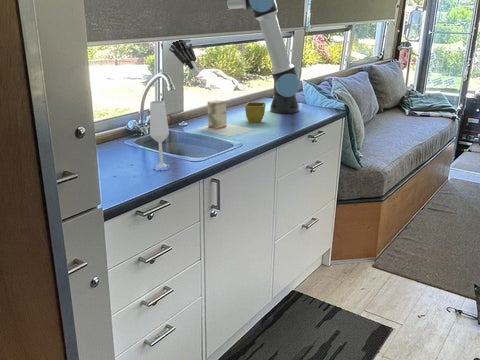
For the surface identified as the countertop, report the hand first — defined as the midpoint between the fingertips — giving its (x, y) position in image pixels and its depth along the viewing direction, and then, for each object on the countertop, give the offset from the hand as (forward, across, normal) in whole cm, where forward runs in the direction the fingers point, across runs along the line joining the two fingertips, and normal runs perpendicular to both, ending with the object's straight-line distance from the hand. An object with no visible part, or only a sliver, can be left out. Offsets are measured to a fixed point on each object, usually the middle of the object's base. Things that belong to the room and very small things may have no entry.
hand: (197, 73), depth 234 cm
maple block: (+25, -1, -8) cm, 27 cm away
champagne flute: (+45, +53, +10) cm, 70 cm away
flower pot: (+30, -21, -5) cm, 37 cm away
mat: (+29, -1, -5) cm, 30 cm away
